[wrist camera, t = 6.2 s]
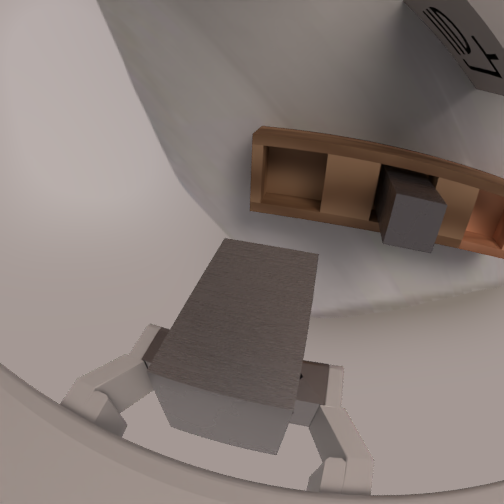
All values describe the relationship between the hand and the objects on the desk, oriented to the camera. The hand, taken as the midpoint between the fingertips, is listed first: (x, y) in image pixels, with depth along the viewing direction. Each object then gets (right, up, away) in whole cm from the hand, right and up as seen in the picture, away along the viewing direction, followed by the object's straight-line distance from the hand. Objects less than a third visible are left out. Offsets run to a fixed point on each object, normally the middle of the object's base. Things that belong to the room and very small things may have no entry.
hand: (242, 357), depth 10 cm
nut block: (+1, +2, +3) cm, 4 cm away
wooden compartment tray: (+14, +10, +15) cm, 23 cm away
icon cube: (+20, +24, +4) cm, 31 cm away
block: (+13, +9, +14) cm, 22 cm away
